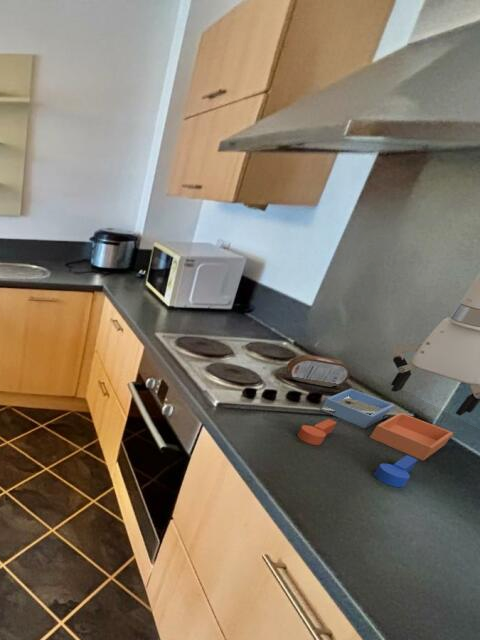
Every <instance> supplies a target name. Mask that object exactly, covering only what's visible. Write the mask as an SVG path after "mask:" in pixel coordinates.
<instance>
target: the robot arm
mask: <svg viewBox="0 0 480 640" xmlns="http://www.w3.org/2000/svg"><path fill="white" fill-rule="evenodd" d="M411 352H415V353H414V355H413V356H412V359H411V360H410V361H411V362H410V363H408V362H407V360H406V358H405V357H404V355H405V354H404V353H411ZM392 356H393V359H392V362H393V363H394V365H395V367H396V368H397V369H396V371H397V373H396V375H395V377H394V379H393V380H392V382H391V383H390V386H393V387H392V388H391V390H390V391H392V392H394V393H395V392H399V391H402V389H403V388H404V387H405V385H406V383H407V382H408V380H409V378H410V377H411V375H412V370H413V371H414V370H416V369H419V370H422V371H425V372H428V373H430V374H434V375H437V376H441V377H444V378H446V379H450V380H453V381H456V382H459V383H463V384H466V385H469V388H470V390H471V392H472V393H471V394H469V395H468V396H466V398H465V399H464V400H463V402H462V403H461V404H460V406H459V407H458V409H457V410H456V412H455V414H456V415H457V416H462V415H464V414H466V413H472V412H473V411H474V410H475V408H476V407H477V406H478V405H479V403H480V272H479V273H478V274H477V276H476V277H475V279H474V281H472V284H471V285H470V286H469V288H468V290H467V291H466V293H465V294H464V295H463V297H462V299H461V300H460V302H459V304H458V305H457V307H456V308H455V310H454V311H453V313H452V314H451V316H450V317H446V318H444V319H442V321H441V322H440V323H438V325H437V326H436V327H435V328H434V329H433V330H432V332H431V333H430V334H429V335H428V336H427V338H426V339H425V340H424V342H422V343H420V344H419V343H418V344H406V345H396V346H394V347H392Z"/></svg>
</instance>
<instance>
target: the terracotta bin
mask: <svg viewBox="0 0 480 640" xmlns="http://www.w3.org/2000/svg"><path fill="white" fill-rule="evenodd" d="M453 435H454V432H453V431H450V430H447V429H445V428H443V427H440V426H437V425H434V424H432V423H430V422H426V421H424V420H422V419H419V418H416V417H413V416H411V415H408V414H405V413H403V412H399V413H397V414H395V415H393V416H391V417H390V418H388V419H386V420H384V421H382V422H381V423H379V424H377V425H376V426H375V428H374V430H373V431H372V433H371V434H370V436H369V438H370V439H372V440H374V441H376V442H379V443H382V444H384V445H385V446H389V447H391V448H393V449H395V450H397V451H400V452H402V453H404V454H406V455H408V456H411V457H413V458H415V459H417V460H420V461H425V460H427V458H429V457H430V456H432V455H433V454H435V453H436V452H437V451H439V450H440V449H441V448H443V447H444V446H445V445H446V444H447V443H448V441H449V440H450V439H451V437H452V436H453Z"/></svg>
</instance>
